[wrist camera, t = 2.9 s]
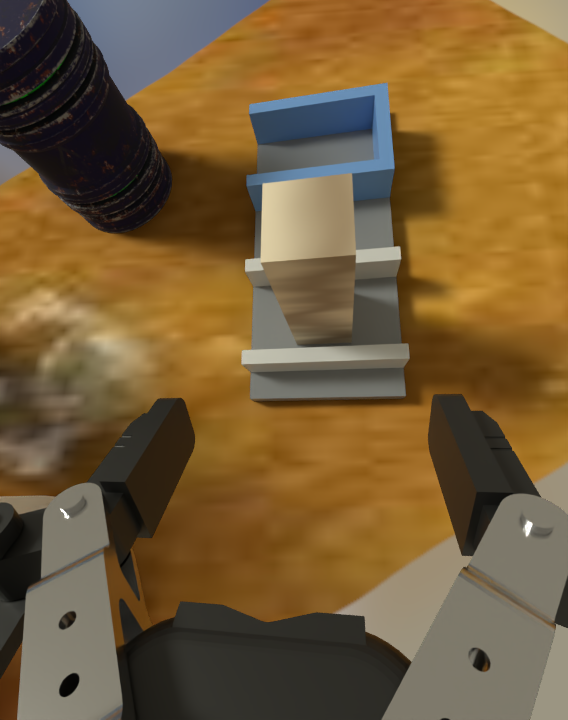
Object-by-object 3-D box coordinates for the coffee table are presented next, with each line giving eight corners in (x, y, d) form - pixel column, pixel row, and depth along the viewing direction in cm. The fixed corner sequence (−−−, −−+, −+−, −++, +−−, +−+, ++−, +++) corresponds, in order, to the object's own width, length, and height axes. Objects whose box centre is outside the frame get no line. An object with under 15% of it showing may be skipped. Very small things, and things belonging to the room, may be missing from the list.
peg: (297, 344, 27) (260, 262, 15) (297, 295, 28) (262, 183, 16) (351, 342, 26) (356, 254, 15) (349, 292, 27) (351, 173, 16)
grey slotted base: (254, 401, 27) (238, 392, 23) (261, 129, 34) (250, 85, 30) (403, 398, 26) (413, 388, 22) (380, 112, 32) (385, 63, 28)
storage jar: (146, 131, 36) (-32, -157, 19) (191, 193, 33) (27, -82, 16) (65, 186, 36) (-186, -54, 19) (103, 253, 33) (-154, 41, 16)
